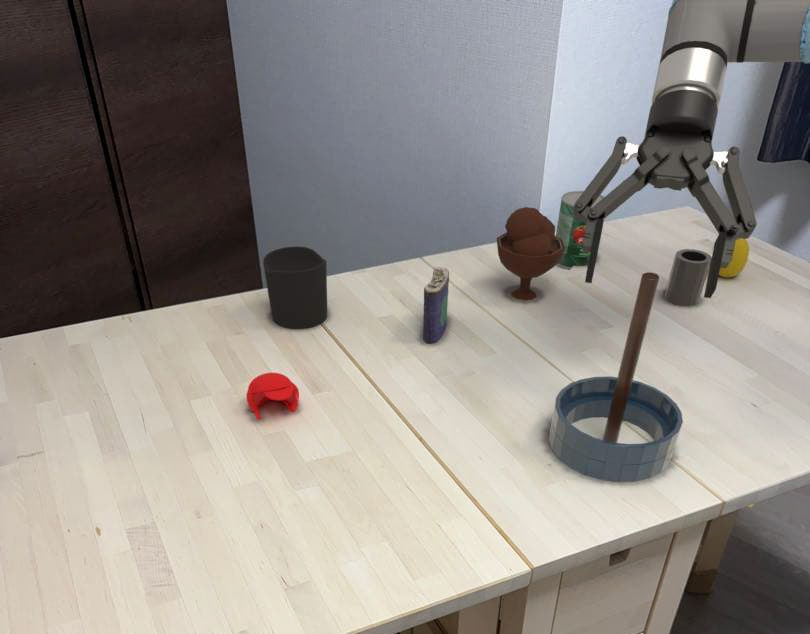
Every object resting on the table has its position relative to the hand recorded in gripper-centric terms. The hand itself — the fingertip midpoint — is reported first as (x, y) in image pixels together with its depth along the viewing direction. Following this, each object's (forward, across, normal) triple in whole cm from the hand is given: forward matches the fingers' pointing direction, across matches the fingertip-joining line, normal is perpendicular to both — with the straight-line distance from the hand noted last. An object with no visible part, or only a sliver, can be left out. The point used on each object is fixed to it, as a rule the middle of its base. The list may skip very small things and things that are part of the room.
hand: (648, 286), depth 86 cm
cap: (+21, +44, -6) cm, 49 cm away
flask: (+2, +29, -25) cm, 38 cm away
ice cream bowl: (-10, +18, -37) cm, 42 cm away
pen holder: (+3, +50, -24) cm, 56 cm away
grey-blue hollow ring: (+18, 0, -9) cm, 20 cm away
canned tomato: (-22, +11, -50) cm, 55 cm away
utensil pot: (-14, -8, -41) cm, 44 cm away
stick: (+17, 0, -9) cm, 19 cm away
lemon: (-22, -15, -50) cm, 57 cm away
